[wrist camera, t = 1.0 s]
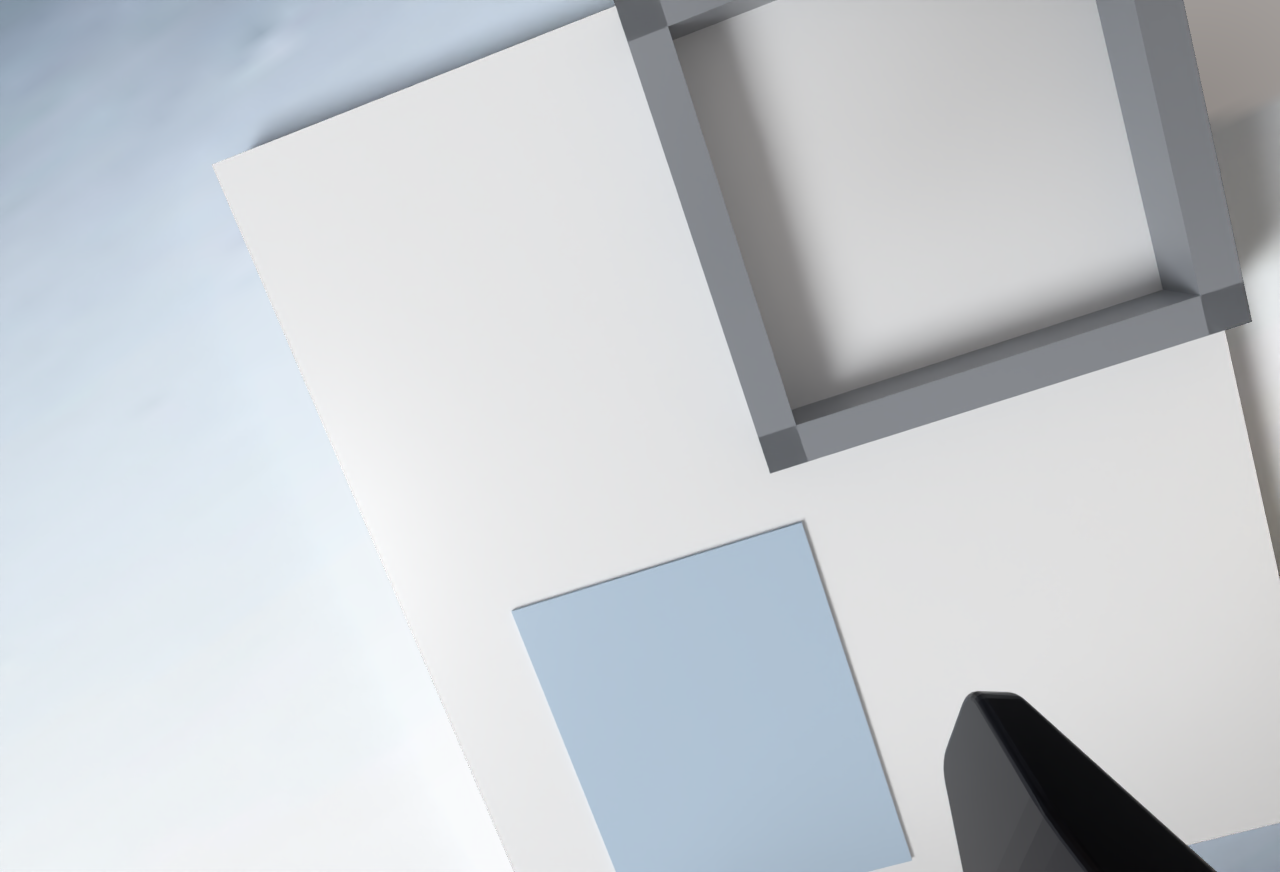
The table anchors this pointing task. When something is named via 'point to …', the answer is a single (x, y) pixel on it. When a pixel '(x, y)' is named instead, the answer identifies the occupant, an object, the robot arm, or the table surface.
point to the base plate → (794, 416)
